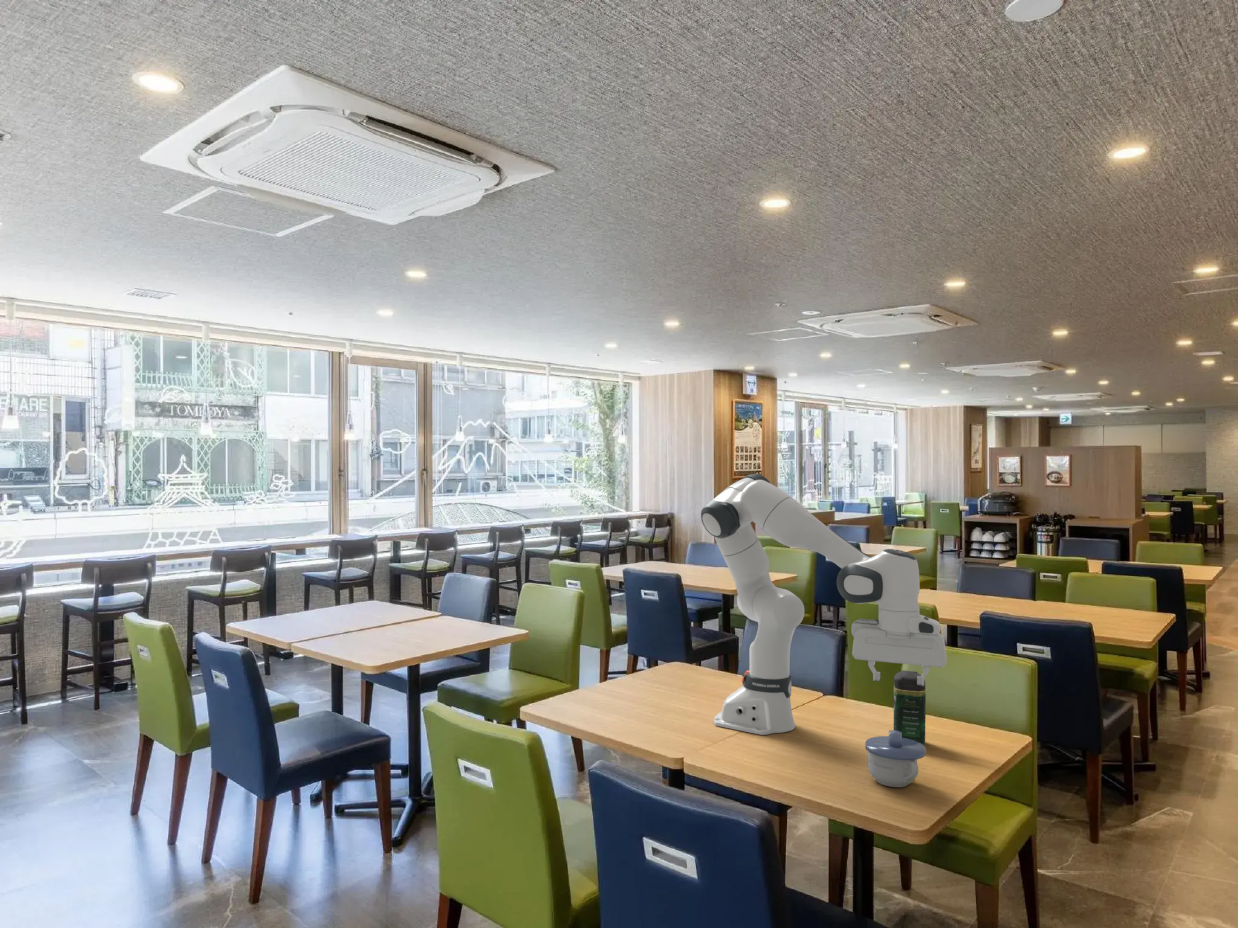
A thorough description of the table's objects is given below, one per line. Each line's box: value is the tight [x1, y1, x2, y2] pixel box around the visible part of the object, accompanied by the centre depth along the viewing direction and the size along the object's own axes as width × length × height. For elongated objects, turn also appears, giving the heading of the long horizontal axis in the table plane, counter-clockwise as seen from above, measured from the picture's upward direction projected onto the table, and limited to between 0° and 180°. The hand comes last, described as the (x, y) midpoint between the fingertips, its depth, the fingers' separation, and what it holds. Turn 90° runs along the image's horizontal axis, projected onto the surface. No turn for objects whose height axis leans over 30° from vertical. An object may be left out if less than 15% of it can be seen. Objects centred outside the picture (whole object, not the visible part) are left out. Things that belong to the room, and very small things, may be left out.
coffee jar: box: [892, 669, 927, 747], centre depth 208 cm, size 10×8×19 cm
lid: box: [864, 729, 927, 760], centre depth 180 cm, size 13×13×4 cm
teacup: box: [867, 751, 920, 788], centre depth 180 cm, size 14×11×8 cm
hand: (898, 682), depth 181 cm, fingers open, 8 cm apart
